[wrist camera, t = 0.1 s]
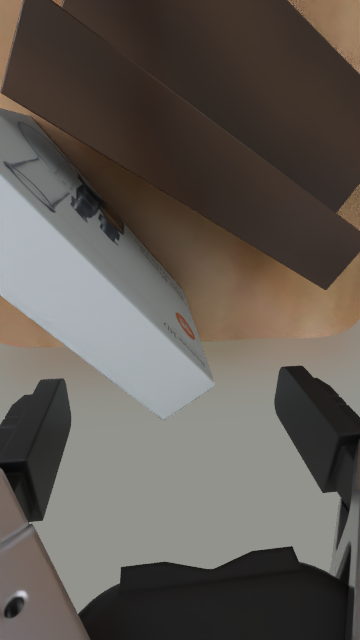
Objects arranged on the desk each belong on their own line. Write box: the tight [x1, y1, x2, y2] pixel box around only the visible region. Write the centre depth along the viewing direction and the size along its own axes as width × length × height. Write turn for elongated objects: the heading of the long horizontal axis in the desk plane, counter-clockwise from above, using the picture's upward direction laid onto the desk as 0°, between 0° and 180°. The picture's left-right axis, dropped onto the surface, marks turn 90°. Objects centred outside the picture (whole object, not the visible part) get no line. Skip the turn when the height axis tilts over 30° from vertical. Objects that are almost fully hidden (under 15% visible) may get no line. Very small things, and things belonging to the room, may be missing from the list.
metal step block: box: [1, 0, 360, 290], centre depth 22 cm, size 14×26×9 cm, turn 59°
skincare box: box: [0, 108, 215, 420], centre depth 23 cm, size 21×6×16 cm, turn 38°
